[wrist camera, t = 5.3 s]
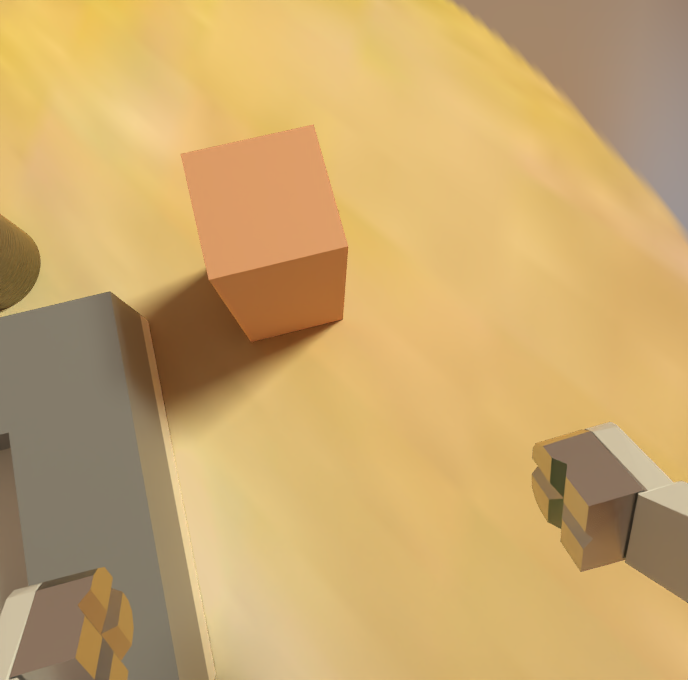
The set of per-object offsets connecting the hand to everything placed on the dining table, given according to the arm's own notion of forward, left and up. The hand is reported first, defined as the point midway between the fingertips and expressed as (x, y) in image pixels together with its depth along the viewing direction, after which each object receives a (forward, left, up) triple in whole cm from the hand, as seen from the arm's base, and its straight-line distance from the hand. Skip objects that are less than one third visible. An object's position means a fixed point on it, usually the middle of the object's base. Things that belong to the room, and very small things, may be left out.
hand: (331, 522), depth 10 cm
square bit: (+9, 0, -12) cm, 15 cm away
